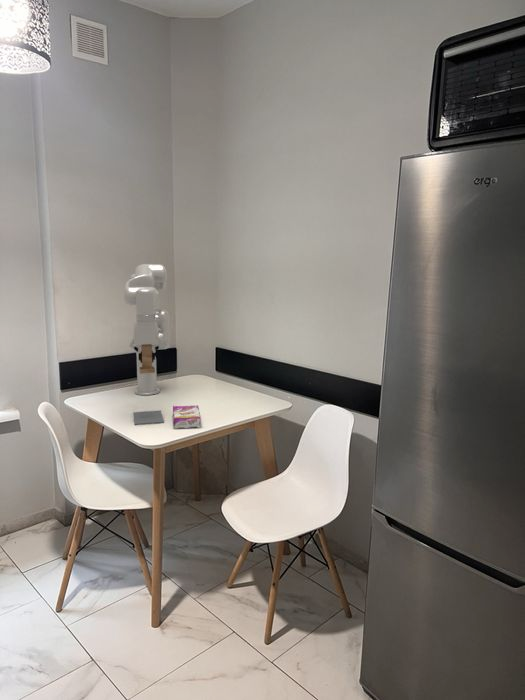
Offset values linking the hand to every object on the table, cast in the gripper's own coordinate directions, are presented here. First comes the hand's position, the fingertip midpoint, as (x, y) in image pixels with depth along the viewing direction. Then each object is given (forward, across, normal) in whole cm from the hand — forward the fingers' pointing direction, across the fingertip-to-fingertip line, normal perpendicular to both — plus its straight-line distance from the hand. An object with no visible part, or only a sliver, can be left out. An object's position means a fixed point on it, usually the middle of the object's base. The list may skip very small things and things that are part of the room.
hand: (146, 361), depth 214 cm
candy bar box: (+22, -16, 0) cm, 27 cm away
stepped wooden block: (+4, 0, 0) cm, 4 cm away
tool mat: (+25, 0, 0) cm, 25 cm away
